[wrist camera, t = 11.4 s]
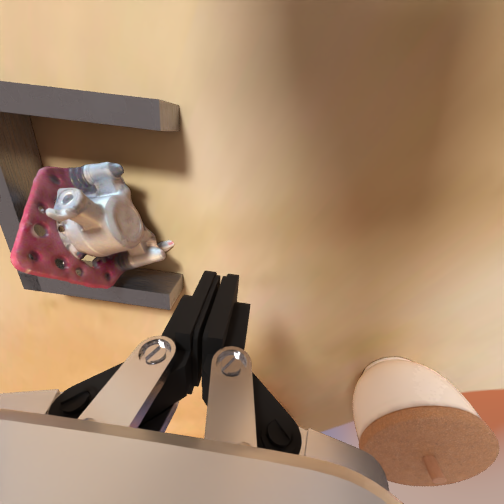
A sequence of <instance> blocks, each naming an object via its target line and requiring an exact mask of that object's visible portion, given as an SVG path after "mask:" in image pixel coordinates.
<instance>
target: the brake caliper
mask: <svg viewBox="0 0 504 504" xmlns="http://www.w3.org/2000/svg"><path fill="white" fill-rule="evenodd" d="M123 173H124V169H123V167H122V166H121V165H119V164H117V163H111V162H103V163H99V164H87V165H84V166H82V167H78V168H58V167H50V166H47V167H43V168H42V169H40V170H39V171H38V173H37V175H36V177H35V178H34V180H33V185H32V188H31V191H30V195H29V197H28V201H27V203H26V206H25V208H24V212H23V216H22V219H21V222H20V224H19V229H18V233H17V236H16V239H15V242H14V246H13V248H12V251H11V257H10V258H11V263H12V264H13V266H14V267H15V268H16V269H17V270H19V271H21V272H24V273H27V274H31V275H35V276H39V277H46V278H51V279H58V280H61V281H67V282H69V283H72V284H79V285H83V286H86V287H91V288H105V289H108V288H110V287H112V286H113V285H114V284H115V283H116V281H117V280H118V278H119V277H120V276H121V274H122V273H124V272H125V271H126V270H131V269H135V268H137V267H140V266H143V265H148V264H151V263H154V262H158V261H162V260H164V259H165V258H166V254H165V251H168V250H169V249H170V248H171V247H173V246H174V243H173V242H172V241H171V240H168V241H164V242H160V243H157V242H156V237H155V235H154V234H153V233H152V232H151V231H150V230H148V229H147V228H146V226H145V225H144V223H143V222H142V220H141V217H140V215H139V213H138V211H137V210H136V208H135V207H134V205H133V203H132V200H131V191H130V189H129V188H128V186H127V185H126V184H125V182H124V180H123V178H122V176H121V175H122V174H123ZM55 200H56V203H55ZM39 207H42V208H43V209H41V210H40V208H39ZM58 221H59V222H60V224H59V223H58ZM35 225H40V226H42V227H43V228H44V230H45V235H44V236H39V235H37V234H36V233H35V231H34V226H35ZM59 226H63V227H64V229H65V230H64V232H60V231H59V229H58V228H59ZM29 254H31V255H32V256H33V258H34V259H33V260H32V259H31V258H30V257H29ZM87 254H88V255H91V256H95V257H96V258H95V259H94V260H93V261H92V265H93V267H91V266H89V265H88V264H86V263H85V262H84V261H82V260H81V259H83V258H84V257H85V256H86V255H87ZM56 259H61V260H62V261H63V264H64V269H60V268H58V267H57V265H56V264H55V260H56ZM76 270H80V271H81V275H78V274H77V272H76ZM105 275H107V277H106V276H105Z"/></svg>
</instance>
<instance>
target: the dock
mask: <svg viewBox="0 0 504 504" xmlns="http://www.w3.org/2000/svg"><path fill="white" fill-rule="evenodd" d="M29 115H33V116H42V117H50V118H58V119H66V120H75V121H83V122H91V123H99V124H108V125H116V126H124V127H132V128H141V129H149V130H157V131H180V128H179V105H176V104H172V103H169V102H165V101H162V100H158V99H149V98H141V97H132V96H124V95H115V94H107V93H98V92H89V91H81V90H72V89H64V88H55V87H47V86H38V85H30V84H21V83H13V82H4V81H0V225H1V228H2V231H3V233H4V236H5V239H6V241H7V244H8V247H9V249H10V252H11V251H12V248H13V246H14V242H15V239H16V236H17V233H18V229H19V224H20V222H21V219H22V216H23V212H24V208H25V206H26V203H27V201H28V197H29V195H30V191H31V188H32V185H33V180H34V178H35V177H36V175H37V173H38V171H39V170H40V169H42V168H43V166H42V162H41V158H40V155H39V151H38V147H37V143H36V139H35V135H34V132H33V128H32V124H31V120H30V116H29ZM39 208H40V210H41V209H43V208H42V207H39ZM58 229H59V228H58ZM34 231H35V233H36V234H37V235H39V236H44V235H45V230H44V228H43V227H42V226H40V225H35V226H34ZM29 257H30V258H31V259H32V260H33V259H34V258H33V256H32V255H31V254H29ZM82 261H84V260H82ZM84 262H85V263H86V264H88V265H89V266H91V267H93V265H92V262H91V261H84ZM55 264H56V265H57V267H58V268H60V269H64V264H63V261H62V260H61V259H56V260H55ZM17 271H18V274H19V276H20V279H21V282H22V284H23V287H24V289H28V290H35V291H42V292H49V293H56V294H63V295H70V296H77V297H84V298H91V299H98V300H105V301H111V302H118V303H125V304H132V305H139V306H146V307H153V308H160V309H167V310H170V309H171V308H172V306H173V304H174V303H175V301H176V299H177V298H178V296H179V294H180V293H181V291H182V289H183V274H178V273H170V272H163V271H156V270H149V269H142V268H135V269H131V270H126V271H125V272H124V273H122V274H121V276H120V277H119V278H118V280H117V281H116V283H115V284H114V285H113V286H112V287H110V288H108V289H105V288H91V287H86V286H83V285H79V284H72V283H69V282H67V281H61V280H58V279H51V278H46V277H39V276H35V275H31V274H27V273H24V272H21V271H19V270H17ZM76 272H77V274H78V275H81V271H80V270H76ZM105 276H106V277H107V275H105Z"/></svg>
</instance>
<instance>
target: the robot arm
mask: <svg viewBox="0 0 504 504" xmlns="http://www.w3.org/2000/svg"><path fill="white" fill-rule="evenodd" d="M238 283H239V275H233V274H228V275H227V277H226V276H223V278H222V281H221V284H220V276H219V275H217V273H216V272H211V271H204V273H203V275H202V277H201V279H200V281H199V284H198V286H197V288H196V290H195V292H194V294H193V296H189V295H184V296H183V297H182V298H181V300H180V302H179V304H178V306H177V308H176V310H175V311H174V313H173V315H172V317H171V319H170V321H169V323H168V324H167V326H166V328H165V330H164V332H163V334H162V335H161V336H154V337H151V338H148V339H146V340H144V341H143V342H141V343H140V344H139V345H138V346H137V347H136V349H135V350H134V351H133V352H132V353H131V355H130V356H129V357H128V358H127V359H126V361H125V362H123V363H121V364H119V365H117V366H115V367H113V368H110V369H108V370H106V371H104V372H102V373H100V374H98V375H96V376H93V377H91V378H89V379H87V380H85V381H83V382H81V383H79V384H76V385H74V386H72V387H71V388H69V389H67V390H65V391H64V392H59V389H55V390H42V391H29V392H16V393H3V394H0V504H403V503H402V502H401V501H400V500H399V499H397V498H396V497H395V496H394V495H392V494H391V493H390V492H389V488H388V482H387V478H386V474H385V472H384V470H383V469H382V467H381V465H380V463H379V462H378V461H377V460H376V459H375V458H374V457H373V456H372V455H370V454H369V453H367V452H365V451H363V450H361V449H358V448H356V447H354V446H351V445H349V444H346V443H344V442H342V441H339V440H337V439H335V438H332V437H330V436H327V435H325V434H323V433H320V432H318V431H315V430H313V429H310V428H309V429H308V430H305V429H303V428H301V427H298V426H297V424H296V423H295V421H294V420H293V419H292V417H291V416H290V415H289V414H288V413H287V412H286V410H285V409H284V408H283V407H282V406H281V405H280V403H279V402H278V401H277V400H276V399H275V398H274V397H273V395H272V394H271V393H270V392H269V391H268V390H267V388H266V387H265V386H264V385H263V384H262V383H261V382H260V380H259V379H258V378H257V377H256V376H255V375H254V373H253V372H252V363H251V359H250V356H249V355H248V353H247V352H246V351H244V348H245V341H246V334H247V326H248V319H249V311H250V304H246V303H239V302H237V294H238ZM201 377H202V387H203V388H202V399H203V400H204V402H205V403H206V405H207V416H206V427H205V437H204V439H202V438H196V437H190V436H183V435H177V434H171V433H164V432H165V430H166V428H167V426H168V425H169V423H170V421H171V419H172V417H173V415H174V413H175V411H176V409H177V406H178V403H179V400H181V399H182V398H184V397H185V396H187V394H192V391H193V388H194V386H199V383H200V380H201Z"/></svg>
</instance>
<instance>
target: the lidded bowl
mask: <svg viewBox="0 0 504 504" xmlns="http://www.w3.org/2000/svg"><path fill="white" fill-rule="evenodd" d="M353 416H354V423H355V428H356V432H357V436H358V440H359V448H360V449H361V450H363V451H365V452H367V453H369V454H370V455H372V456H373V457H374V458H375V459H376V460H377V461H378V462H379V463H380V465H381V467H382V469H383V470H384V472H385V474H386V478H387V480H388V481H391V482H395V483H399V484H404V485H410V486H438V485H446V484H452V483H456V482H460V481H462V480H466V479H469V478H471V477H473V476H475V475H478V474H479V473H481V472H483V471H485V470H486V469H487V468H488V467H489V466H491V465H492V463H493V462H494V461H495V460H496V458H497V456H498V453H499V443H498V440H497V438H496V436H495V434H494V433H493V432H492V430H491V429H490V428H489V426H488V425H487V424H486V423H485V422H484V421H483V420H482V419H481V418H480V416H479V415H478V414H477V412H476V411H475V410H474V408H473V407H472V406H471V404H470V403H469V402H468V401H467V400H466V399H465V397H464V396H463V395H462V394H461V393H460V392H459V391H458V390H457V389H456V387H454V386H453V385H452V384H451V383H450V382H449V381H448V380H447V379H446V378H444V377H443V376H441V375H440V374H439V373H437V372H436V371H434V370H432V369H430V368H428V367H426V366H424V365H422V364H419V363H416V362H412V361H410V360H408V359H405V358H401V357H386V358H382V359H379V360H376V361H374V362H372V363H371V364H369V365H368V366H367V367H366V368H365V370H364V371H363V374H362V376H361V377H360V379H359V380H358V382H357V384H356V387H355V390H354V394H353Z"/></svg>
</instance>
